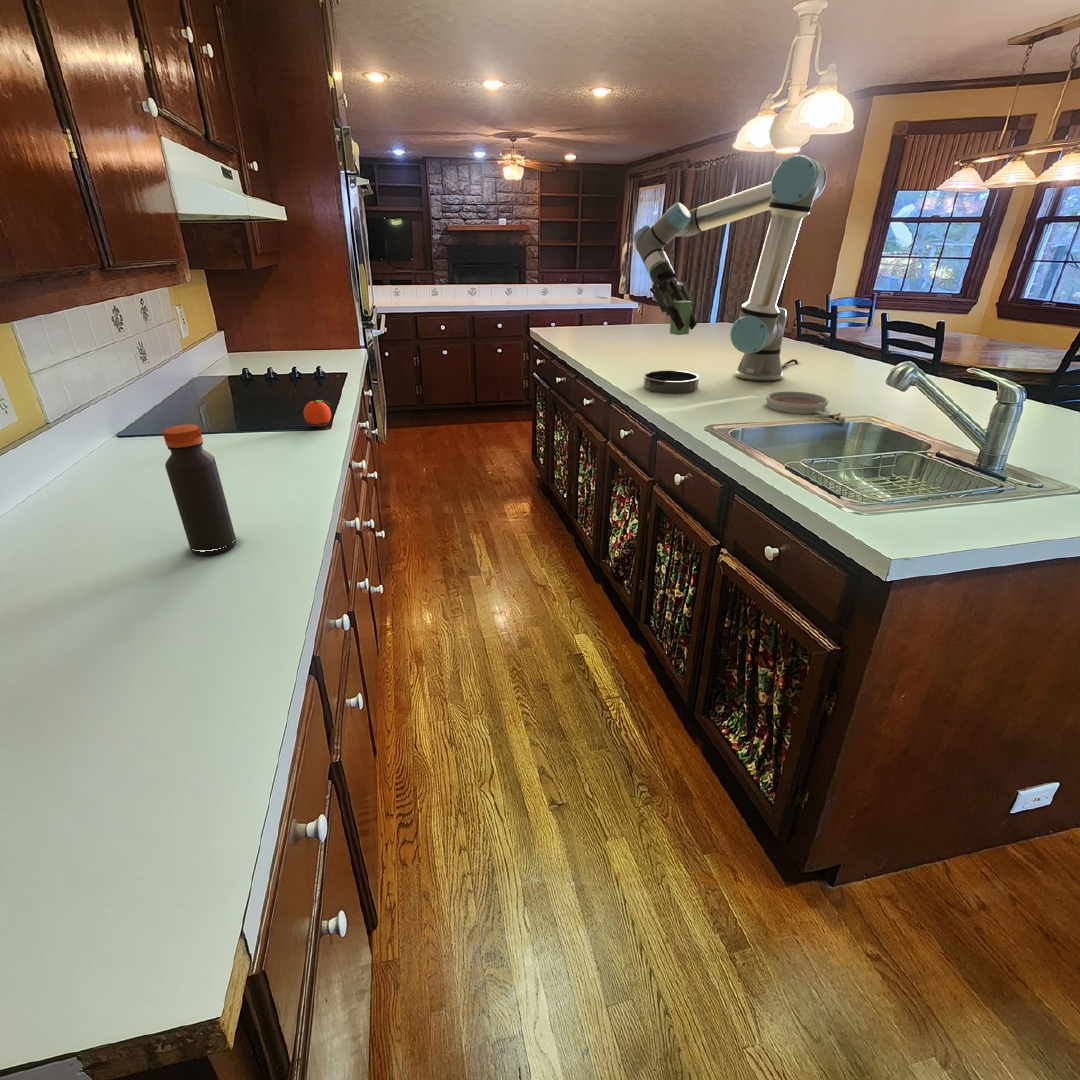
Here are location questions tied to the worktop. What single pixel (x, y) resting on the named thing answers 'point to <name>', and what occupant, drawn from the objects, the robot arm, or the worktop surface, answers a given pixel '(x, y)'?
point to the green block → (682, 317)
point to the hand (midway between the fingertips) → (687, 327)
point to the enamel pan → (671, 382)
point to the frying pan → (801, 404)
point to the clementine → (317, 413)
